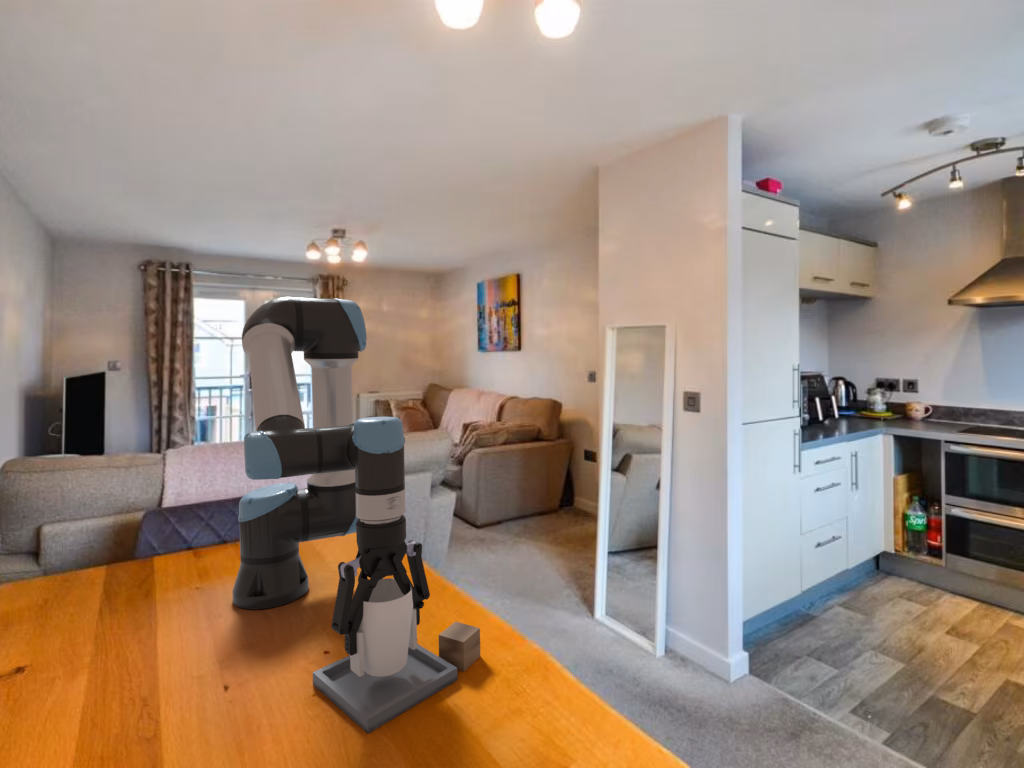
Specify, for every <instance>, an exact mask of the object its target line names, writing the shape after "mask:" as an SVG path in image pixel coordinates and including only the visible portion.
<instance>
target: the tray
mask: <svg viewBox="0 0 1024 768" xmlns="http://www.w3.org/2000/svg"><path fill="white" fill-rule="evenodd" d="M456 681H458V670H457V667H455V666H453V665H452V664H450V663H448V662H447V661H445V660H443V659H442V658H440V657H439V655H437V654H435V653H434V652H432V651H430V650H428V649H427V648H425V647H423V646H421V644H418V643H417V649H415V650H412V649H411V648H409V647H408V656H407V663H406V665H405V667H404V668H403V669H402V670H400V671H399V672H397V673H395V674H392V675H389V676H383V677H377V676H372V675H369V674H367V673H366V672H365V671H364V675H363V676H361V677H359V676H358V675H357V674H355V673H354V672H353V671H351V668H350V655H349V654H348V655H347V656H345V657H343V658H341V659H338V660H336V661H334V662H331V663H330V664H328V665H325V666H324V667H321V668H319V669H317V670H315V671H313V672H312V685H313V686H314V687H315V688H316V689H318V691H320V693H322V694H323V695H324V696H325V697H326V698H327V699H328V700H330V701H331V702H332V703H333V704H334V705H335V706H336V707H337V708H338V709H339V710H341V712H343V713H344V714H345V715H346V716H347V717H349V718H350V720H352V721H353V722H354V723H355V724H357V726H359V727H360V728H361V729H362V730H363V731H364V732H365V733H366V734H369V733H372V732H374V731H375V730H376V729H378V728H380V727H381V726H383V725H385V724H386V723H388V722H390V721H392V720H393V719H395V718H397V717H398V716H400V715H401V714H403V713H405V712H406V711H408V710H410V709H411V708H413V707H415V706H417V705H418V704H420V703H421V702H423V701H425V700H427V699H428V698H430V697H432V696H433V695H436V693H438V692H440V691H442V690H444V689H446V687H448V686H450V685H452V684H453V683H454V682H456Z"/></svg>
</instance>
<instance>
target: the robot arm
mask: <svg viewBox="0 0 1024 768" xmlns="http://www.w3.org/2000/svg"><path fill="white" fill-rule="evenodd" d="M367 339H368V338H367V328H366V322H365V318H364V315H363V312H362V310H361V307H360V305H359V304H358V303H357V302H356V301H354V300H350V299H343V298H342V299H341V298H321V297H320V298H319V297H316V298H315V297H293V296H283V297H278V298H273V299H271V300H269V301H267V302H265V303H263V304H262V305H260V306H259V307H258V308H256V310H254V312H252V313H251V315H249V317H248V318H247V320H246V322H245V324H244V325H243V328H242V332H241V346H242V349H243V350H242V351H243V352H244V354H245V356H247V357H248V359H249V369H250V370H249V371H250V381H251V392H252V393H251V394H252V402H253V413H254V426H255V431H252V432H248V433H246V434H245V435H244V437H243V453H244V457H243V458H244V471H245V476H246V477H247V478H248V479H250V480H257V481H258V480H260V481H261V480H279V479H283V478H292V477H299V476H307V475H308V476H309V475H310V476H309V477H308V478H307V481H306V488H301V489H300V488H298V486H297V484H295V482H294V483H293V482H287V483H281V482H280V483H274V484H269V485H267V486H262V487H259V488H256V489H254V490H251V491H249V492H248V493H245V495H243V496H242V497H241V499H240V500H239V504H238V517H237V521H238V522H239V549H240V550H239V551H240V565H239V568H238V572H237V575H236V578H235V581H234V586H233V587H232V603H233V605H234V606H236V607H237V608H240V609H245V610H263V609H270V608H276V607H279V606H283V605H287V604H289V603H292V602H293V601H294V602H295V601H296V600H298V599H300V598H302V597H303V596H304V595H306V593H307V592H308V590H309V589H310V585H309V582H310V581H309V576H308V574H307V570H306V569H305V566H304V563H303V560H302V558H301V556H300V544H301V543H305V542H312V541H317V540H322V539H323V540H324V539H329V538H334V537H345V536H347V535H350V534H356V536H355V537H356V545H357V554H356V556H355V559H353V560H350V561H348V562H345V561H340V562H339V563H338V564H337V570H338V576H339V580H338V585H337V591H336V596H335V603H334V608H333V615H332V621H331V626H330V627H331V629H332V631H334V632H336V633H337V634H338V635H340V636H344V649H345V653H347V654H348V656H349V655H350V668H351V671H353V672H354V673H355V674H357V675H358V676H359V677H361V676H363V675H364V642H363V632H362V631H361V630H359V627H360V624H361V621H362V618H363V601H364V602H369V599H370V596H371V593H372V591H373V589H374V588H375V587H376V585H377V583H378V580H381V579H385V578H386V577H393V578H394V579H395V581H396V583H397V584H398V586H399V588H400V590H401V592H402V593H403V594H404V595H406V594H408V593H409V592H410V584H411V587H412V599H413V613H412V621H411V630H410V639H409V648H411V649H412V650H415V649H417V644H418V629H417V628H418V627H417V626H418V625H420V623H421V616H420V615H421V613H420V610H421V609H423V607H424V606H425V602H424V601H425V600H428V599H429V598H430V597H431V594H430V589H429V584H428V579H427V575H426V572H425V571H426V570H425V567H424V562H423V556H422V555H423V545H422V543H420V542H417V541H414V540H413V539H410V540H409V541H408V542H406V538H407V519H406V516H405V515H404V514H405V513H406V486H405V485H406V481H405V475H406V474H405V472H406V471H405V443H406V438H405V434H404V433H405V432H404V424H403V421H402V420H401V418H399V417H396V416H370V417H369V416H368V417H362V418H358V419H357V420H355V422H354V421H353V420H354V419H353V417H354V416H353V415H354V414H353V413H354V412H353V373H352V372H353V369H352V367H353V365H354V364H355V363H357V361H359V352H360V353H361V352H364V351H365V350H366V348H367ZM293 352H303V360H304V361H305V362H306V363H307V364H308V366H310V368H311V389H312V391H311V398H312V399H311V400H312V427H307V428H306V426H305V419H304V415H303V408H302V404H301V399H300V398H301V397H300V393H299V387H298V383H297V378H296V372H295V367H294V361H293V356H292V353H293ZM353 422H354V423H353ZM405 556H406V558H407V562H408V568H409V572H410V576H411V579H412V580H411V579H410V578H409V575H408V574H407V569H406V567H405V565H404V564H403V560H404V558H405ZM359 568H360V573H359V575H358V569H359ZM357 575H358V578H357V584H356V577H357ZM355 585H357V586H356V588H355ZM354 593H355V594H354Z"/></svg>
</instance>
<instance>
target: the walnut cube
mask: <svg viewBox="0 0 1024 768" xmlns="http://www.w3.org/2000/svg"><path fill="white" fill-rule="evenodd" d="M438 657H440V658H442V659H443V660H445V661H447V662H448V663H450V664H452V665H453V666H455V667H457V671H461V672H463V673H464V672H466V671H467V669H469V668H470V667H471V666H472V665H473V664H474V663H475V662H476V661H477V660H478V659H479V658H480V657H481V628H480V627H477V626H473V625H469V624H465V623H462V622H460V621H454V622H453V623H452V624H450V625H449V626H448V627H446V629H444V630H443V631H441V632H440V633H439V634H438Z"/></svg>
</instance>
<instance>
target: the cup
mask: <svg viewBox="0 0 1024 768" xmlns="http://www.w3.org/2000/svg"><path fill="white" fill-rule="evenodd" d="M354 594H355V592H353V595H354ZM412 613H413V599H412V587H411V584H410V592H409V593H408V594H406V595H404V594H403V593H402V592H401V590H400V588H399V586H398V584H397V583H396V581H395V579H394V577H393V578H392V577H391V578H390V577H389V578H388V577H387V578H383V579H381V580H378V583H377V585H376V587H375V588H374V589H373V591H372V593H371V596H370V599H369V602H364V601H363V618H362V621H361V624H360V627H359V630H361V631H362V632H363V642H364V671H365V672H366V673H367V674H369V675H372V676H377V677H383V676H389V675H392V674H395V673H397V672H399V671H400V670H402V669H403V668H404V667H405V665H406V663H407V656H408V647H409V639H410V630H411V621H412Z"/></svg>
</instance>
